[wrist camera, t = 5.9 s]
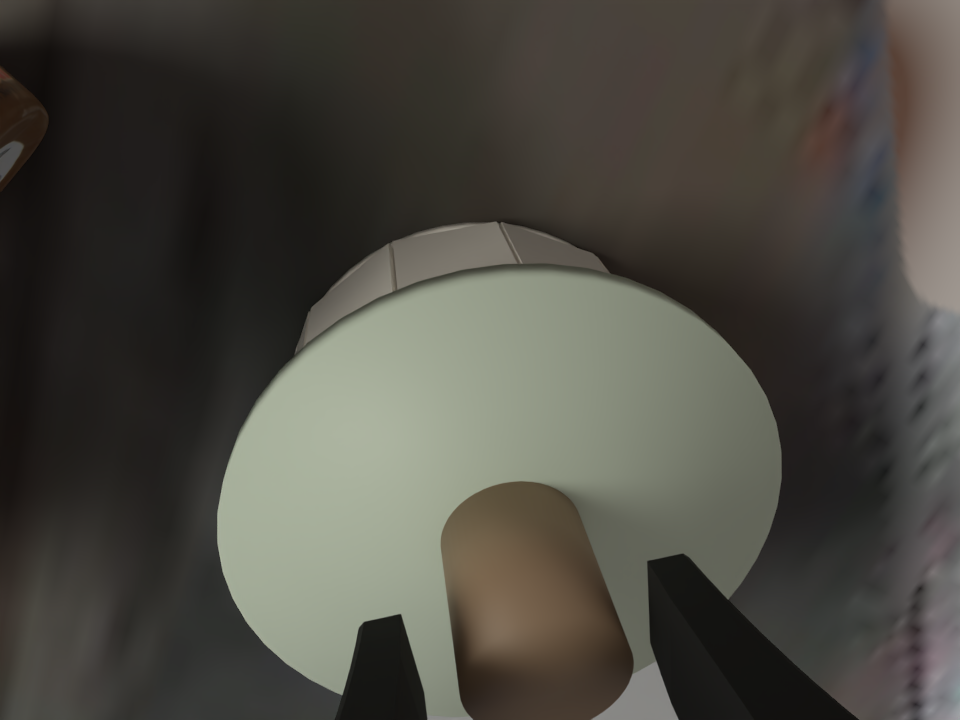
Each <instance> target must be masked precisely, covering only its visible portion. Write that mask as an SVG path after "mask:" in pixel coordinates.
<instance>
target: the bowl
mask: <svg viewBox="0 0 960 720" xmlns="http://www.w3.org/2000/svg"><path fill="white" fill-rule="evenodd" d="M539 263H548V264H557V265H566V266H575V267H583V268H590V269H594V270H598V271H602V272H606V273H609V271H608V270H607V269H606V267H605V266H604V265H603V263H602V262H601V261H600V259H599V258H598V257H597V256H595V255H594V254H593V253H591V252H588V251H585V250H582V249H579V248H576V247H575V246H573V245H572V244H570V243H568V242H567V241H564V240H562V239H559V238H557V237H555V236H552V235H550V234H548V233H545V232H542V231H538V230H535V229H531V228H527V227H524V226H519V225H512V224H506V223H503V222H501V223H497V221H496V222H467V223H459V224H451V225H443V226H439V227H435V228H431V229H427V230H423V231H419V232H416V233H413V234H411V235H408V236H406V237H403V238H401V239H398V240H396V241H393V242H391V243H389V244H387V245H385V246H384V247H382V248H380V249H378V250H377V251H375V252H373V253H371V254H369V255H368V256H367V257H365V258H364V259H363V260H361V261H360V262H359V263H357V264H356V265H354V266H353V267H352V268H350V269H349V270H348V271H347V272H346V273H345V274H344V275H343V276H342V277H341V278H340V279H339V280H338V281H337V282H336V283H334V284H333V285H332V286H331V288H330V289H329V290H328V291H327V293H326V294H325V295H324V296H323V298H322V299H321V300H320V301H318V302H317V303H316V304H315V305H314V306H312V307H311V311H310V312H309V311H308V315H307V318H306V321H305V324H304V327H303V331H302V334H301V336H300V339H299V341H298V344H297V346H296V351H295V355H296V354H297V353H298V352H299V351H300V350H301V349H302V348H303V347H304V346H305V345H306V344H307V343H308V342H309V341H311V340H312V339H313V338H315V337H316V336H317V335H319V334H320V333H322V332H323V331H324V330H326V329H327V328H328V327H330V326H331V325H332V324H334V323H335V322H337V321H338V320H339V319H341V318H342V317H344V316H346V315H348V314H349V313H351V312H353V311H355V310H357V309H358V308H360V307H362V306H364V305H366V304H368V303H369V302H371V301H373V300H375V299H377V298H378V297H381V296H383V295H386V294H388V293H391V292H393V291H396V290H398V289H401V288H403V287H406V286H408V285H411V284H413V283H416V282H418V281H422V280H425V279H429V278H433V277H437V276H440V275H444V274H448V273H452V272H456V271H459V270H465V269H472V268H479V267H486V266H494V265H501V264H539ZM295 355H294V356H295Z"/></svg>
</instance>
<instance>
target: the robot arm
mask: <svg viewBox="0 0 960 720" xmlns="http://www.w3.org/2000/svg"><path fill="white" fill-rule="evenodd" d="M647 573H648V601H649V628H650V644H651V647H652V650H653V653H654V656H655V659H656V662H657V665H658V667H659V670H660V673H661V676H662V679H663V682H664V685H665V687H666V690H667V693H668V696H669V699H670V701H671V704H672V706H673V709H674V711H675V713H676V715H677V717H678V719H679V720H859V719H857V718H856V717H855V716H854V715H853V714H851V713H850V712H849V711H848V710H846V709H845V708H844V707H843V706H842V705H840V704H839V703H838V702H837V701H836V700H835V699H833V698H832V697H831V696H830V695H829V694H828V693H827V692H825V691H824V690H823V689H822V688H821V687H820V686H818V685H817V684H816V683H815V682H814V681H813V680H811V679H810V678H809V677H808V676H807V675H806V674H805V673H804V672H803V671H801V670H800V669H799V668H798V667H797V666H796V665H795V664H794V663H793V662H792V661H790V660H789V659H788V658H787V657H786V656H785V655H784V654H783V653H782V652H781V651H780V650H779V649H778V648H777V647H776V646H775V645H773V644H772V643H771V642H770V641H769V640H768V639H767V638H766V637H765V636H764V635H763V634H762V633H761V632H760V631H759V630H758V629H757V628H756V627H755V626H754V625H753V624H752V623H751V622H750V621H749V620H748V619H747V618H746V617H745V616H744V615H743V614H742V613H741V612H740V611H739V610H738V609H737V608H736V607H735V606H734V605H733V604H732V603H731V602H730V601H729V600H728V599H727V598H726V597H725V596H724V595H723V594H722V593H721V592H720V591H719V590H718V588H717V587H716V586H715V585H714V584H713V583H712V582H711V581H710V580H709V579H708V578H707V577H706V575H705V574H704V573H703V572H702V571H701V570H700V569H699V568H698V567H697V565H696V564H695V563H694V562H693V561H692V560H691V559H690V557H688V556H687V555H685V554H683V553H682V554H677V555H673V556H668V557H663V558H659V559H654V560H649V561H647ZM335 720H427V711H426V703H425V695H424V690H423V686H422V683H421V680H420V676H419V673H418V670H417V666H416V663H415V659H414V656H413V653H412V649H411V646H410V643H409V639H408V636H407V632H406V629H405V626H404V622H403V619H402V615H401V614H398V615H393V616H388V617H384V618H379V619H374V620H370V621H365V622H363V623H362V625H361V626H360V627H359V629H358V634H357V639H356V644H355V649H354V653H353V657H352V662H351V666H350V670H349V673H348V677H347V681H346V685H345V688H344V691H343V695H342V698H341V702H340V705H339V709H338V712H337V715H336V718H335Z"/></svg>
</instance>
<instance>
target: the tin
mask: <svg viewBox="0 0 960 720" xmlns="http://www.w3.org/2000/svg"><path fill="white" fill-rule="evenodd" d="M48 124H49V117H48V114H47V111H46V109H45V108H44V106H43V105H42V104H41V102H40V101H39V100H38V99H37V98H36V97H35V96H34V95H33V94H32V93H31V92H30V91H29V90H27V89H26V88H25V87H24V86H23V85H22V84H21V83H20V82H19V81H17V80H16V79H15V78H14V77H13V76H12V75H11V74H10V73H9V72H7V71H6V70H5V69H4V68H3V67H2V66H0V192H1V191H2V190H3V189H4V188H5V186H6V185H7V184H8V183H9V182H10V180H11V179H12V178H13V177H14V176H15V174H16V173H17V172H18V171H19V170H20V168H21V167H22V166H23V165H24V163H25V162H26V161H27V160H28V159H29V157H30V156H31V155H32V153H33V152H34V151H35V149H36V148H37V146H38V145H39V143H40V142H41V141H42V139H43V137H44V135H45V133H46V130H47V127H48Z"/></svg>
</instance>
